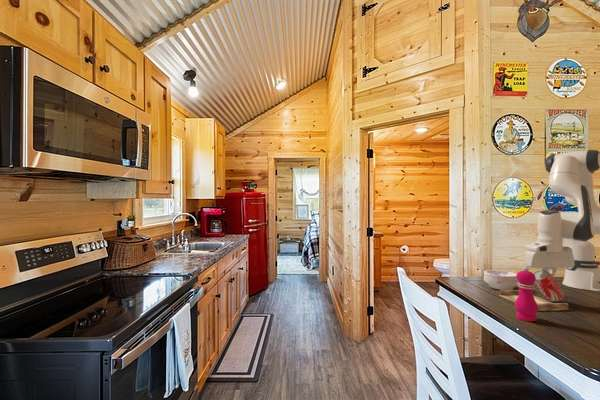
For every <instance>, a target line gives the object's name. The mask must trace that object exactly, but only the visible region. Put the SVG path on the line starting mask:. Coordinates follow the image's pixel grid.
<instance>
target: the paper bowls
mask: <svg viewBox="0 0 600 400" xmlns="http://www.w3.org/2000/svg"><path fill="white" fill-rule="evenodd" d="M516 275H517V273H515V272H512V271H511V272H510V271H505V270H494V269H491V270H490V269H488V270H484V271H483V281H484V282H486V283H487V284H488V286H489V287H490V288H492V289H494V290H498V291H499V290H514V288H515V287H518V283H519V281H518V280H517V278H516Z"/></svg>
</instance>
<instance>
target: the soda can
mask: <svg viewBox="0 0 600 400" xmlns="http://www.w3.org/2000/svg"><path fill="white" fill-rule="evenodd" d="M533 274H534V275H535V277H536V281H535V282H534V283H535V285H536V287H538V289H539V291H540V292H541V293H542V294H543V297H545V300H547V301H549V302H552V303H554V302H555V303H557V302H559V301H561V300H563V299H564V297H565V293H564V291H563V289H562V288H561V287H560V285H559V284H558V283H557V281H556V280H555V278H553V276H552V275H551V274H550V272H549V273H548V272H547V271H546V270H542V269H540V270H537V271H535V272H533Z"/></svg>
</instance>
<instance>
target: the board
mask: <svg viewBox="0 0 600 400" xmlns="http://www.w3.org/2000/svg"><path fill="white" fill-rule="evenodd" d="M498 291H499V292H498V295H499V297H502V298H503V299H506V300H509V301H510V302H513V303H515V302H516V300H517V298H518V296H519V289H512V290H498ZM533 296H534V299H535V301H536V303H537V306H538V312H539V311H568V310H569V303H567V302H555V303H554V302H553V301H549V300H547V299H544V298H541V297H539V296H536V295H534V294H533Z"/></svg>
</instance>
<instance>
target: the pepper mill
mask: <svg viewBox="0 0 600 400" xmlns="http://www.w3.org/2000/svg"><path fill="white" fill-rule="evenodd" d="M516 274H517V275H516V278H517V280H518V281H519V283H518V286H517V287H518V290H519V296H518V298H517V300H516V302H514V309H516V311H517V312H516V315H515V317H516V319H518V320H520V319H521V320H520V321H523V320H524V321H523V322H527V321H531V322H530V323H533V322H532V321H536V322H537V315H536V314H537V313H538V312H539V311H538V306H537V303H536V301H535V299H534V296H535V295H534V289H535V284H534V283H535V281H536V277H535V275H534V272H531V271H530V270H529V267H527V266H524V267H523V268H522V270H520V271H518V272H517V273H516ZM533 295H534V296H533Z"/></svg>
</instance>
